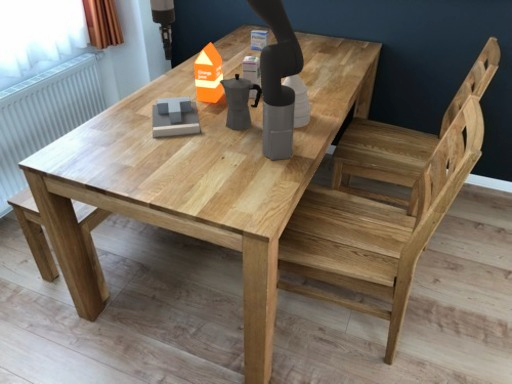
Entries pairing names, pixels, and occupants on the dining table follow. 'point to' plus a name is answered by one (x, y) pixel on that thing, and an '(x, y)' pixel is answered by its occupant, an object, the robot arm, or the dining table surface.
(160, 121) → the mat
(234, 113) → the coffeepot
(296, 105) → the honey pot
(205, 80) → the orange juice
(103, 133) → the dining table surface
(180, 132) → the rail
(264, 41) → the medicine box
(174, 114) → the t block
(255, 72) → the syrup box
